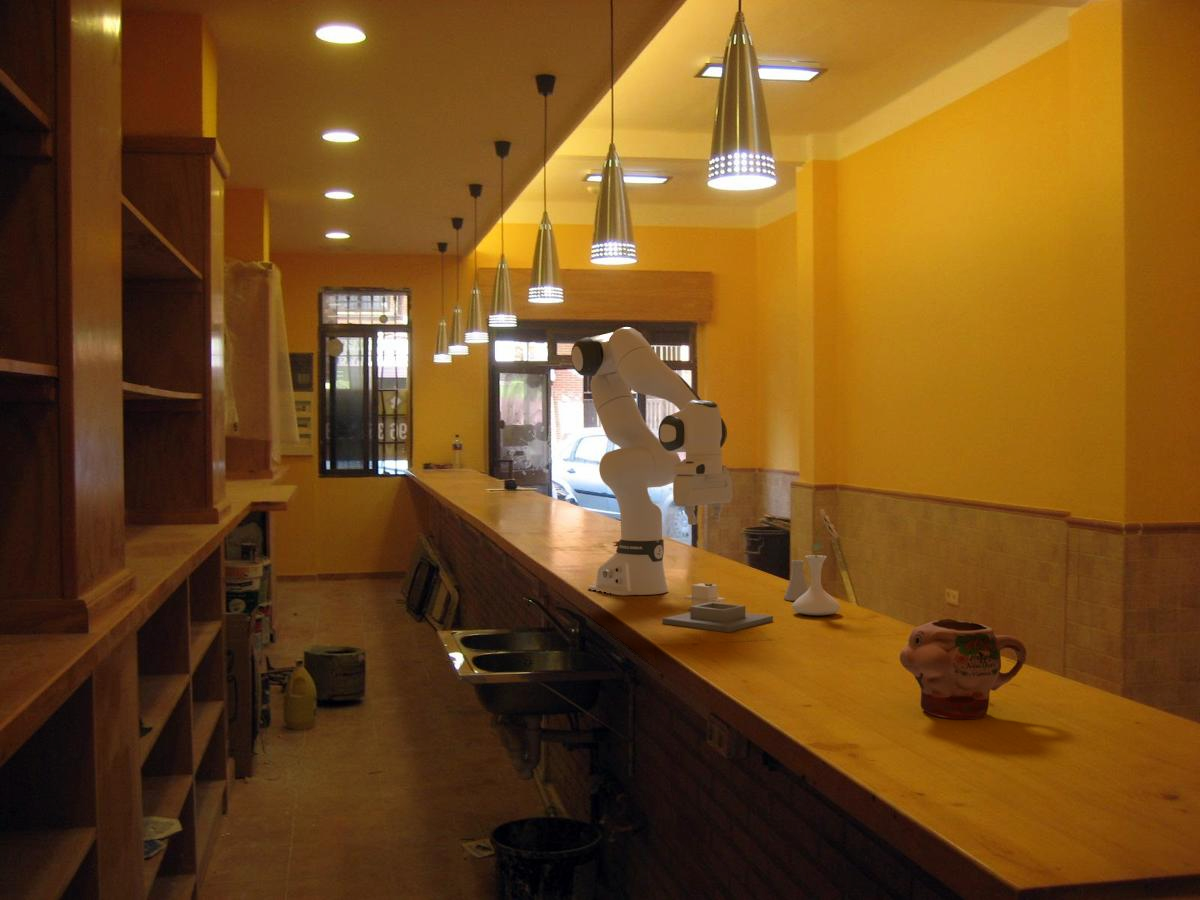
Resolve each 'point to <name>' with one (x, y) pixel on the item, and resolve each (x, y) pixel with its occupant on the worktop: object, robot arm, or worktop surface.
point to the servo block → (704, 594)
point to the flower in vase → (817, 582)
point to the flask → (796, 582)
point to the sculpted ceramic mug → (958, 666)
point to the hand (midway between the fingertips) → (704, 523)
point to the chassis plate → (718, 617)
